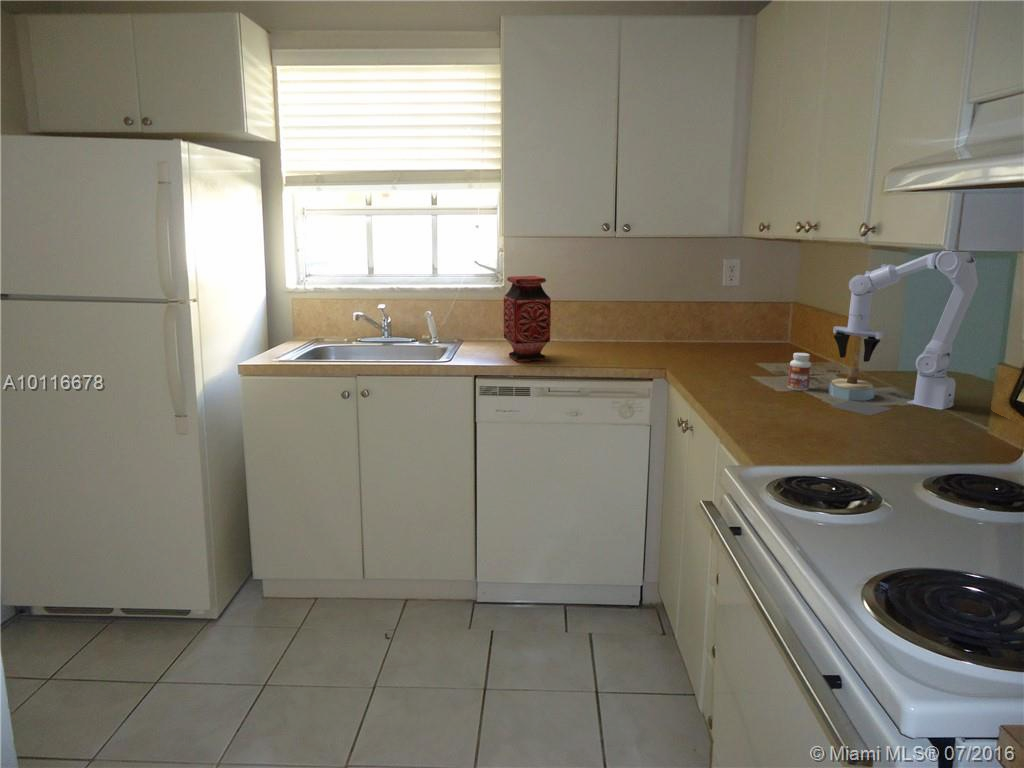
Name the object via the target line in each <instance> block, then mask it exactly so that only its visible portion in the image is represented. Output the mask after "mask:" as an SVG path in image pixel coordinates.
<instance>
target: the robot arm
mask: <svg viewBox="0 0 1024 768" xmlns="http://www.w3.org/2000/svg"><path fill="white" fill-rule="evenodd" d="M976 261H977V260H976V258H975V257H974V256H973V255H972V253H971V252H970V251H969V252H952V251H944V250H942V251H936V252H932V253H928V254H925V255H924V256H920V257H919V258H918V257H917V258H916V259H913V260H910V261H907V262H905V263H902V264H900V265H898V266H896V265H894V264H888V263H884V264H881V266H880V267H879V268H877V269H875V270H872V271H871V270H866V271H865V273H864V274H857V275H855V276H853V277H852V278H850V280H849V282H848V289H849V291H850V292H851V295H850V302H849V304H850V305H849V311H848V312H849V313H848V320H847V321H848V322H847V326H841V325H840V326H839V325H838V326H837V325H836V326H833V330H832V331H833V332H832V333H833V334H834V335H833V338H834V340H835V342H836V344H837V348H838V353H839V358H840V359H842V358H843V359H844V358H846V356H847V350H848V349H847V348H848V343H849V340H850V337H851V336H857V337H861V338H862V337H863V343H864V351H863V352H864V353H863V362H865V363H867V362H870V360H871V358H872V356H873V353H874V350H875V349H876V347H877V345H878V344H879V343H880V341H881V340H883V337H884V336H883V334H884V332H882V331H876V330H872V329H869V326H870V325H869V324H870V317H871V310H872V309H871V308H872V301H873V299H872V297H873V293H874V292H875V291H878V290H880V289H884V288H886V287H890V286H892V285H895V284H898V283H899V281H900V280H901V278H902V277H905V276H908V275H911V274H914V273H917V272H921V271H923V270H926V269H931V270H938V271H939V272H940V273H942V274H944V275H945V276H946V277H947V278H948V280H949V281H950V283H951V284H952V286H953V289H952V291H951V294H950V296H949V298H948V301H947V302H946V305H945V307H944V310H943V313H942V315H941V317H940V320H939V321H938V325H937V327H936V328H935V332H934V333H933V336H932V338H931V340H930V342H929V343H927V345H926V346H925V348H924V350H923V352H922V353H921V354H920V355H918V356H917V358H916V360H915V368H916V370H917V375H916V382H915V388H914V389H915V390H914V395H913V399H912V400H909V401H907V403H906V404H910V405H915V406H920V407H925V408H930V409H934V410H935V409H936V410H939V411H940V410H941V411H942V410H945V409H949V408H953V407H954V406H953V405H954V399H955V392H956V387H957V386H956V380H955V378H953V377H949V376H947V369H948V368H949V367H950V366H951V364H952V352H953V350H954V348H953V343H954V340H955V338H956V336H957V333H958V332H959V329H960V327H961V324H962V322H963V320H964V317H965V315H966V314H967V312H968V308H969V306H970V304H971V302H972V299H973V298H974V295H975V292H976V290H977V287H978V286H979V280H978V274H977V269H976V263H977V262H976ZM952 406H953V407H952Z"/></svg>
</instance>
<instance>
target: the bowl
mask: <svg viewBox="0 0 1024 768" xmlns="http://www.w3.org/2000/svg"><path fill="white" fill-rule="evenodd" d="M875 390H876V387H874V385H872V388H871V389H867V390H852V389H844V388H839V387H836V386H833V385H832V381H831V382H829V388H828V394H829V395H830V396H832V397H833V398H838V399H841V400H845V401H849V400H854V401H860V402H863V401H869V400H872V399H874V398H875V392H876V391H875Z"/></svg>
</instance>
